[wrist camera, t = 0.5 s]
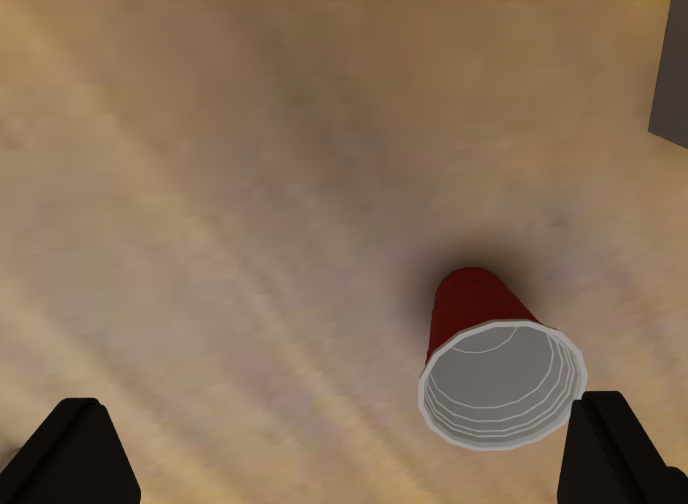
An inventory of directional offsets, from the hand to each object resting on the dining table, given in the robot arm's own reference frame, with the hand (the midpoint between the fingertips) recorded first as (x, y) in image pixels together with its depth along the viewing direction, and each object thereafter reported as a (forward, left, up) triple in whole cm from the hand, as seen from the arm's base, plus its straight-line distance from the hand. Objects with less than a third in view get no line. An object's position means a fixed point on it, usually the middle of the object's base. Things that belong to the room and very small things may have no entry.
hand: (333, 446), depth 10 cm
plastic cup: (+15, +8, -29) cm, 33 cm away
